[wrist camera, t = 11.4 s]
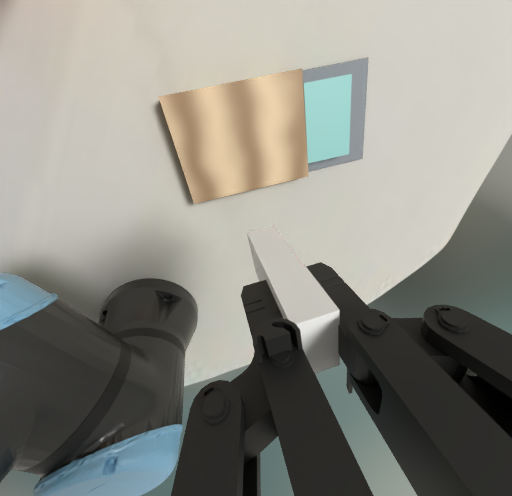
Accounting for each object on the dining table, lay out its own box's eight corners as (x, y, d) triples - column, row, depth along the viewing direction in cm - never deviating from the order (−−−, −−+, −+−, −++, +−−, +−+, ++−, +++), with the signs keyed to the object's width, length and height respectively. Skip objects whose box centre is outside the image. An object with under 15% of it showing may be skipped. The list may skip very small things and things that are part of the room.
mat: (305, 171, 34) (305, 172, 34) (298, 71, 28) (299, 71, 28) (361, 158, 35) (362, 158, 35) (366, 57, 29) (368, 57, 29)
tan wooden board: (194, 198, 33) (194, 203, 31) (161, 98, 27) (158, 96, 24) (301, 172, 34) (308, 176, 32) (294, 72, 28) (302, 68, 26)
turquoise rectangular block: (302, 161, 33) (307, 163, 31) (297, 85, 28) (303, 83, 27) (341, 152, 34) (349, 154, 32) (342, 76, 29) (351, 73, 27)
